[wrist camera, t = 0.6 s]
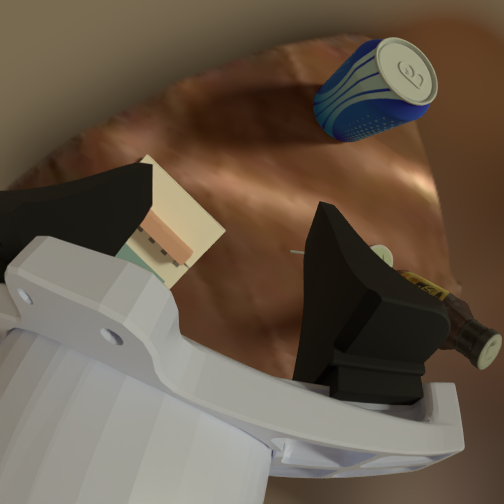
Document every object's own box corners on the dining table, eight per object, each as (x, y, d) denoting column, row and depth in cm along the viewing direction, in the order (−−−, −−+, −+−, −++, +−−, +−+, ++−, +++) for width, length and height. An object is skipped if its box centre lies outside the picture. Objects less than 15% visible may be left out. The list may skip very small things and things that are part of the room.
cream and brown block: (191, 265, 35) (186, 274, 31) (117, 192, 32) (104, 191, 28) (225, 230, 34) (225, 234, 30) (149, 155, 32) (140, 150, 28)
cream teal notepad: (144, 314, 35) (142, 318, 34) (76, 246, 33) (71, 247, 32) (189, 267, 35) (188, 269, 34) (116, 194, 32) (112, 194, 31)
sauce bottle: (392, 261, 37) (497, 308, 18) (419, 278, 38) (517, 325, 19) (372, 303, 38) (462, 373, 19) (400, 316, 39) (487, 380, 20)
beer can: (322, 150, 34) (390, 120, 18) (301, 90, 32) (349, 28, 16) (376, 137, 34) (456, 111, 18) (356, 81, 32) (421, 31, 17)
